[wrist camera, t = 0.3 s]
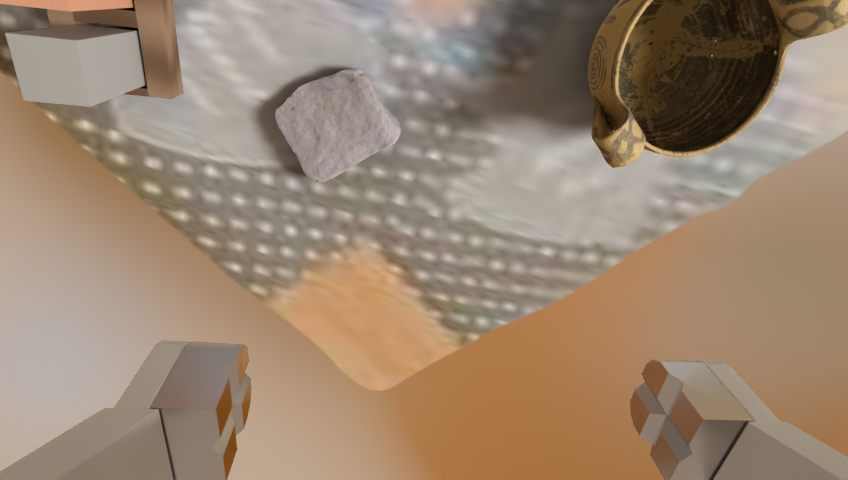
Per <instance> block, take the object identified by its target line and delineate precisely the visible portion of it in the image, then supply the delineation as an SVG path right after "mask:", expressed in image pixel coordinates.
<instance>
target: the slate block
mask: <svg viewBox="0 0 848 480" xmlns="http://www.w3.org/2000/svg"><path fill="white" fill-rule="evenodd" d="M5 35H6V38H7V42H8V46H9V49H10V53H11V56H12V60H13V64H14V67H15V71H16V75H17V78H18V82H19V85H20V89H21V93H22V96H23V100H25V101H35V102H46V103H56V104H67V105H78V106H88V107H91V106H94V105H96V104H99V103H101V102H104V101H106V100H109V99H112V98H114V97H117V96H119V95H122V94H124V93H127V92H129V91H132V90H134V89H137V88H140V87H142V86H145V85H146V80H145V74H144V67H143V61H142V54H141V48H140V41H139V35H138V31H136V30H127V29H118V28H109V27H100V26H92V25H83V24H80V25H71V26H62V27H53V28H44V29H35V30H26V31H17V32H8V33H5Z"/></svg>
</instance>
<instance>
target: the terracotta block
mask: <svg viewBox="0 0 848 480" xmlns="http://www.w3.org/2000/svg"><path fill="white" fill-rule="evenodd" d="M0 4H8V5H16V6H25V7H34V8H43V9H51V10H60V11H69V12H73V11H88V10H103V9H118V8H133V7H134V3H133V0H0Z"/></svg>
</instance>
